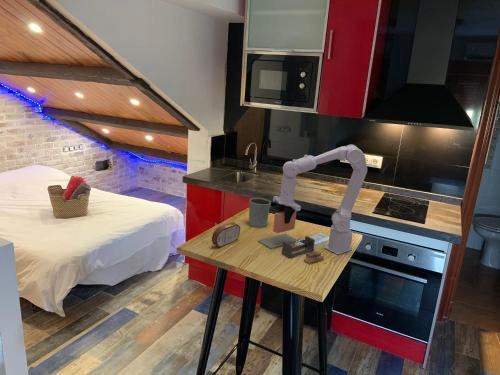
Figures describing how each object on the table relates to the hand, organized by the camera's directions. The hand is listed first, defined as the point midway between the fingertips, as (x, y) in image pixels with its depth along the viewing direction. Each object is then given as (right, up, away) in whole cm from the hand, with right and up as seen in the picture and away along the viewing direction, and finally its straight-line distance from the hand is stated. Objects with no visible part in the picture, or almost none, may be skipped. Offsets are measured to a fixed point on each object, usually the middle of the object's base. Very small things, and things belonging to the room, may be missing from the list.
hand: (284, 222), depth 155 cm
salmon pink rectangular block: (0, -4, +1) cm, 4 cm away
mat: (-2, -9, +5) cm, 10 cm away
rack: (+5, -12, -4) cm, 14 cm away
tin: (-24, -9, -1) cm, 26 cm away
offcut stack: (+10, -14, -11) cm, 21 cm away
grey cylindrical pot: (-10, -4, +23) cm, 25 cm away
